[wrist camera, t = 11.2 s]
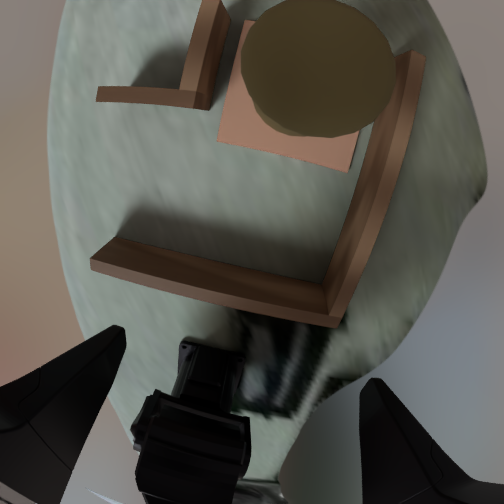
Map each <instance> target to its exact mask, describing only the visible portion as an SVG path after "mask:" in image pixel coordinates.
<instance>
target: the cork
mask: <svg viewBox="0 0 504 504" xmlns="http://www.w3.org/2000/svg"><path fill="white" fill-rule="evenodd" d="M241 75H242V77H243V80H244V83H245V86H246V88H247V91H248V94H249V95H250V97H251V98H252V101H253V104H254V107H255V110H256V112H257V113H258V115H259V116H260V117H261V119H262V120H263V121H264V122H265V123H266V124H267V125H269V126H270V127H271V128H273V129H274V130H276V131H277V132H280V133H283V134H286V135H289V136H300V137H306V136H309V137H324V138H334V137H339V136H343V135H348V134H352V133H355V132H357V131H359V130H360V129H362V128H364V127H365V126H367V125H369V124H370V123H372V122H373V121H374V120H375V119H376V118H377V117H378V116H379V115H380V113H381V112H382V111H383V110H384V108H385V107H386V106H387V105H388V104H389V102H390V99H391V96H392V93H393V90H394V87H395V84H396V64H395V59H394V56H393V53H392V51H391V48H390V45H389V43H388V40H387V39H386V38H385V36H384V35H383V34H382V32H381V31H380V30H379V28H378V27H377V26H376V24H375V23H374V22H373V21H371V20H370V19H369V18H368V17H366V16H365V15H364V14H362V13H361V12H360V11H358V10H357V9H355V8H354V7H351V6H349V5H346V4H344V3H341V2H339V1H336V0H285V1H283V2H281V3H279V4H278V5H276V6H274V7H272V8H270V9H268V10H266V11H265V12H264V13H263V14H262V15H261V16H260V17H259V18H258V20H257V21H256V22H255V23H254V24H253V25H252V26H251V27H250V29H249V31H248V33H247V36H246V38H245V41H244V43H243V46H242V49H241Z"/></svg>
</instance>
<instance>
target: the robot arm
mask: <svg viewBox="0 0 504 504" xmlns="http://www.w3.org/2000/svg"><path fill="white" fill-rule="evenodd" d="M184 345H185V346H184ZM125 350H126V334H125V329H124V328H123V327H120V326H117V325H112V326H110V327H109V328H107V329H105V330H103V331H102V332H100V333H98V334H96V335H95V336H93V337H91V338H89V339H88V340H86V341H84V342H82V343H81V344H79V345H77V346H75V347H74V348H72V349H70V350H68V351H67V352H65V353H63V354H61V355H60V356H58V357H56V358H55V359H53V360H51V361H49V362H48V363H46V364H44V365H43V366H41V368H40V367H39V368H37V369H36V370H34V371H32V372H30V373H28V374H26V375H25V376H23V377H21V378H19V379H17V380H14V381H12V382H10V383H8V384H5V385H3V386H1V387H0V504H35V503H37V504H60V502H61V499H62V497H63V494H64V491H65V489H66V486H67V484H68V481H69V479H70V477H71V474H72V471H73V469H74V466H75V464H76V462H77V459H78V457H79V455H80V453H81V450H82V448H83V446H84V443H85V441H86V439H87V437H88V435H89V433H90V430H91V428H92V426H93V424H94V422H95V420H96V417H97V415H98V413H99V411H100V409H101V407H102V405H103V403H104V401H105V399H106V397H107V395H108V393H109V391H110V389H111V387H112V384H113V382H114V379H115V377H116V374H117V371H118V368H119V366H120V363H121V360H122V358H123V355H124V352H125ZM245 359H246V357H245V356H244V355H243V354H239V353H234V352H230V351H225V350H221V349H216V348H212V347H208V346H204V345H200V344H196V343H192V342H188V341H181V343H180V345H179V358H178V376H177V379H176V382H175V384H174V387H173V390H172V393H171V395H168V394H166V393H163V392H161V391H160V390H157V389H155V391H154V393H153V395H150V396H147V397H146V399H145V402H144V404H143V407H142V409H141V411H140V412H139V414H138V416H137V417H136V419H135V420H134V422H133V423H132V425H131V428H130V431H131V433H132V434H133V436H134V439H133V441H134V446H133V449H134V450H136V451H139V452H140V455H139V459H138V463H137V466H136V470H135V476H136V478H135V479H136V483H137V486H138V490H139V491H140V492H142V495H143V497H144V500H145V502H146V504H232V500H233V495H234V490H235V487H236V484H237V481H238V479H242V478H243V477H244V475H245V474H246V471H247V469H248V466H249V462H250V458H251V432H250V417H246V416H243V417H242V416H238V415H234V414H230V413H231V407H232V400H233V394H234V393H235V392H236V389H237V386H238V383H239V380H240V377H241V373H242V370H243V367H244V364H245ZM359 411H360V412H359V436H360V448H361V465H362V466H361V467H362V495H363V504H504V484H496V483H489V482H482V481H478V480H475V479H473V478H471V477H470V476H468V475H467V474H466V473H465V472H464V471H463V470H462V469H461V468H460V467H459V466H458V465H457V464H456V463H455V462H454V461H453V460H452V459H451V458H450V457H449V456H448V455H447V454H446V453H445V452H444V451H443V450H442V449H441V447H440V446H439V445H438V444H437V443H436V442H435V440H434V439H432V437H431V436H430V435H429V433H428V432H427V431H426V430H425V429H424V428H423V427H422V425H421V424H420V423H419V422H418V421H417V419H416V418H415V417H414V416H413V415H412V414H411V412H410V411H409V410H408V409H407V408H406V407H405V405H404V404H403V403H402V402H401V401H400V400H399V398H398V397H397V396H396V395H395V394H394V393H393V391H391V389H390V388H389V387H388V386H387V385H386V383H385V382H384V381H383V380H382V379H380V378H371V379H369V380H368V382H367V383H366V385H365V386H364V387H363V389H362V390H361V392H360V408H359Z"/></svg>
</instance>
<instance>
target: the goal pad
mask: <svg viewBox="0 0 504 504" xmlns="http://www.w3.org/2000/svg"><path fill="white" fill-rule="evenodd" d="M255 22H256V21H250V20H245V21H244V25H243V29H242V32H241V36H240V40H239V44H238V48H237V52H236V56H235V60H234V64H233V68H232V72H231V77H230V81H229V85H228V90H227V94H226V99H225V103H224V108H223V113H222V117H221V122H220V127H219V132H218V137H217V142H222V143H227V144H233V145H238V146H243V147H248V148H252V149H257V150H261V151H266V152H270V153H275V154H279V155H283V156H287V157H291V158H295V159H299V160H303V161H307V162H310V163H314V164H318V165H321V166H325V167H328V168H332V169H335V170H338V171H342V172H345V173H348V170H349V166H350V163H351V159H352V156H353V152H354V148H355V145H356V141H357V137H358V134H359V131H357V132H355V133H352V134H348V135H343V136H339V137H334V138H324V137H309V136H306V137H300V136H289V135H286V134H283V133H280V132H277V131H276V130H274V129H273V128H271V127H270V126H269V125H267V124H266V123H265V122H264V121H263V120H262V119H261V117H260V116H259V115H258V113H257V112H256V110H255V107H254V104H253V101H252V98H251V97H250V95H249V94H248V91H247V88H246V86H245V83H244V80H243V77H242V75H241V49H242V46H243V43H244V41H245V38H246V36H247V33H248V31H249V29H250V27H251V26H252V25H253V24H254V23H255Z"/></svg>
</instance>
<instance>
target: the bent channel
mask: <svg viewBox="0 0 504 504" xmlns="http://www.w3.org/2000/svg"><path fill="white" fill-rule="evenodd" d="M230 22H231V19H230V17H229V15H228V13H227V11H226V9H225V7H224V5H223V3H222V1H221V0H202V3H201V6H200V9H199V12H198V16H197V19H196V23H195V26H194V30H193V33H192V37H191V41H190V45H189V49H188V53H187V57H186V61H185V65H184V69H183V74H182V78H181V83H180V87H179V89H168V88H154V87H130V86H98V91H97V97H96V102H124V103H142V104H156V105H167V106H176V107H185V108H193V109H200V110H207V111H209V109H210V104H211V99H212V95H213V90H214V86H215V81H216V77H217V73H218V68H219V64H220V60H221V56H222V52H223V48H224V44H225V40H226V36H227V33H228V29H229V25H230ZM394 59H395V64H396V84H395V87H394V90H393V93H392V96H391V99H390V102H389V104H388V105H387V106H386V107H385V108H384V110H383V111H382V112H381V113H380V115H379V116H378V117H377V118H376V119H375V121H374V125H373V128H372V132H371V136H370V140H369V144H368V147H367V151H366V154H365V158H364V161H363V165H362V168H361V172H360V175H359V178H358V182H357V185H356V188H355V191H354V195H353V198H352V201H351V204H350V207H349V210H348V213H347V216H346V219H345V222H344V225H343V228H342V231H341V234H340V237H339V240H338V243H337V245H336V248H335V251H334V254H333V256H332V259H331V262H330V265H329V267H328V270H327V273H326V275H325V278H324V280H323V283H322V285H321V284H316V283H312V282H307V281H302V280H298V279H293V278H289V277H284V276H280V275H275V274H271V273H266V272H262V271H257V270H253V269H248V268H244V267H239V266H235V265H231V264H226V263H222V262H218V261H213V260H209V259H205V258H200V257H196V256H192V255H188V254H183V253H179V252H175V251H171V250H167V249H162V248H158V247H154V246H150V245H146V244H142V243H138V242H134V241H130V240H126V239H121V238H117V237H114V238H113V239H112V240H110V241H109V242H108V243H107V244H106V245H105V246H103V247H102V248H101V249H100V250H99V251H98V252H96V253H95V254H94V255H93V256H92V257H91V258H90V266H91V270H93V271H96V272H99V273H103V274H106V275H109V276H112V277H116V278H119V279H123V280H126V281H129V282H133V283H136V284H140V285H144V286H147V287H151V288H155V289H158V290H162V291H166V292H169V293H173V294H177V295H181V296H185V297H189V298H193V299H197V300H201V301H205V302H209V303H213V304H218V305H222V306H226V307H231V308H235V309H240V310H244V311H249V312H253V313H258V314H263V315H267V316H272V317H277V318H282V319H287V320H292V321H298V322H303V323H308V324H314V325H319V326H325V327H331V328H337V327H338V325H339V323H340V321H341V319H342V317H343V315H344V313H345V311H346V308H347V306H348V304H349V302H350V300H351V298H352V296H353V293H354V291H355V289H356V287H357V284H358V282H359V280H360V278H361V275H362V273H363V271H364V268H365V266H366V263H367V261H368V259H369V256H370V254H371V251H372V249H373V246H374V244H375V241H376V239H377V236H378V233H379V231H380V228H381V225H382V223H383V220H384V217H385V214H386V212H387V209H388V206H389V203H390V200H391V197H392V194H393V191H394V188H395V185H396V182H397V179H398V175H399V172H400V169H401V165H402V162H403V159H404V155H405V152H406V148H407V144H408V141H409V137H410V133H411V129H412V125H413V121H414V117H415V112H416V108H417V104H418V99H419V94H420V89H421V84H422V79H423V73H424V67H425V61H426V57H425V56H424V55H422V54H420V53H418V52H416V51H414V50H410V51H407V52H405V53H403V54H401V55H399V56H396V57H394Z"/></svg>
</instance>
